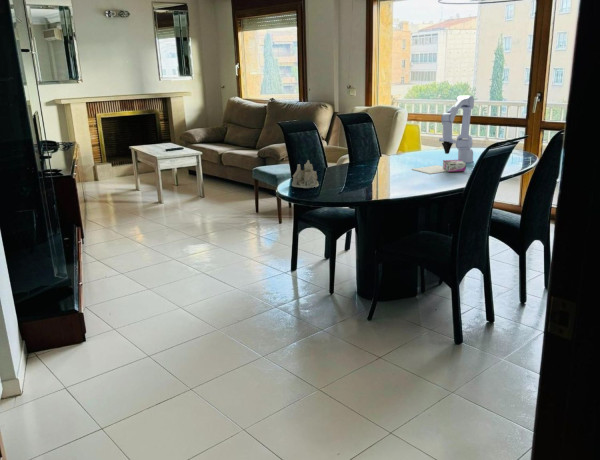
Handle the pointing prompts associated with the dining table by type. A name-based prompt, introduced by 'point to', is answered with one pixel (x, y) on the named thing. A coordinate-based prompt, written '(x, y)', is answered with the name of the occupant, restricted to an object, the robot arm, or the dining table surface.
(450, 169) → the candy bar box
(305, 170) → the white castle figurine
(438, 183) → the dining table surface
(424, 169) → the mat
